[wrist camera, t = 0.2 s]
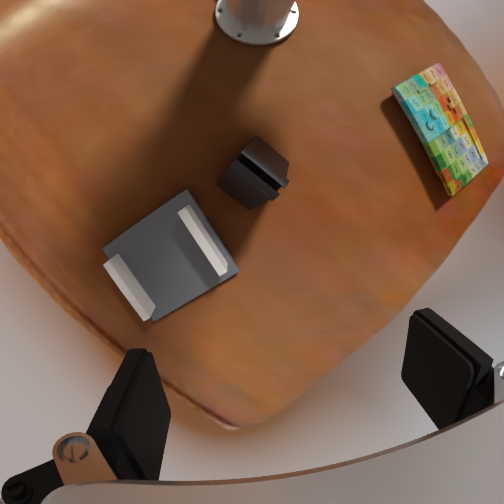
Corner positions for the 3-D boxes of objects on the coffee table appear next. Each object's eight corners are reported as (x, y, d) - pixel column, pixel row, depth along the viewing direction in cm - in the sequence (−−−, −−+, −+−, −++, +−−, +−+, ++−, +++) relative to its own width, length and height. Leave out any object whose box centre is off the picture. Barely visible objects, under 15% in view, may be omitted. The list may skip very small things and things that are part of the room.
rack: (105, 246, 44) (91, 256, 39) (188, 188, 43) (182, 191, 38) (156, 317, 48) (148, 334, 43) (239, 268, 47) (240, 280, 41)
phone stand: (256, 135, 42) (265, 123, 30) (288, 162, 43) (309, 160, 32) (216, 184, 43) (210, 188, 32) (249, 210, 45) (255, 224, 33)
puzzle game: (441, 60, 35) (491, 163, 40) (426, 67, 40) (475, 162, 45) (397, 85, 37) (455, 197, 41) (383, 91, 41) (439, 194, 46)
